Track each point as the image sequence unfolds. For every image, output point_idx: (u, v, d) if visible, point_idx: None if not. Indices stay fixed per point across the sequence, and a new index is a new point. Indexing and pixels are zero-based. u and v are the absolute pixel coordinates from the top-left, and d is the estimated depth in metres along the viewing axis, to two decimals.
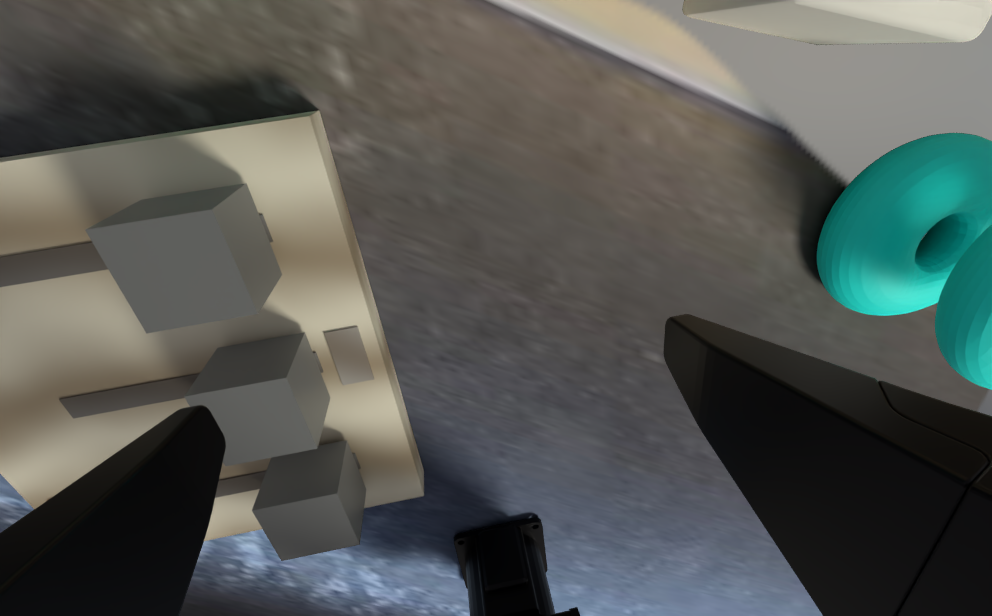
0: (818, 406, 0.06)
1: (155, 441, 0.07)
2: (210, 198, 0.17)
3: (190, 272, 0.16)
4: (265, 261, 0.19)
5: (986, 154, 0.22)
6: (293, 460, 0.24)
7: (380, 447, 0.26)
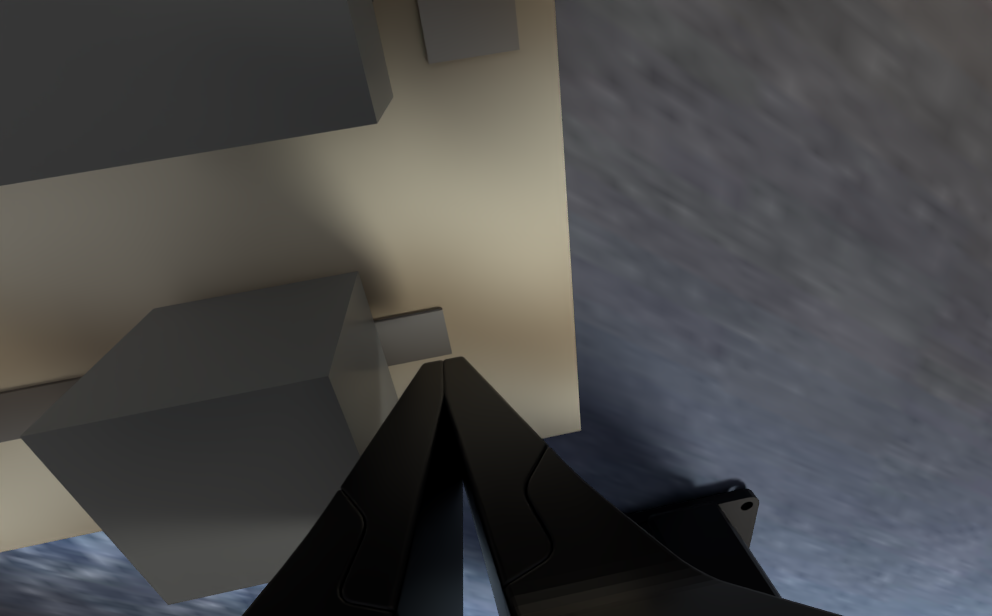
0: (470, 477, 0.06)
1: (432, 388, 0.08)
2: None
3: None
4: None
5: None
6: (205, 315, 0.08)
7: (504, 296, 0.11)
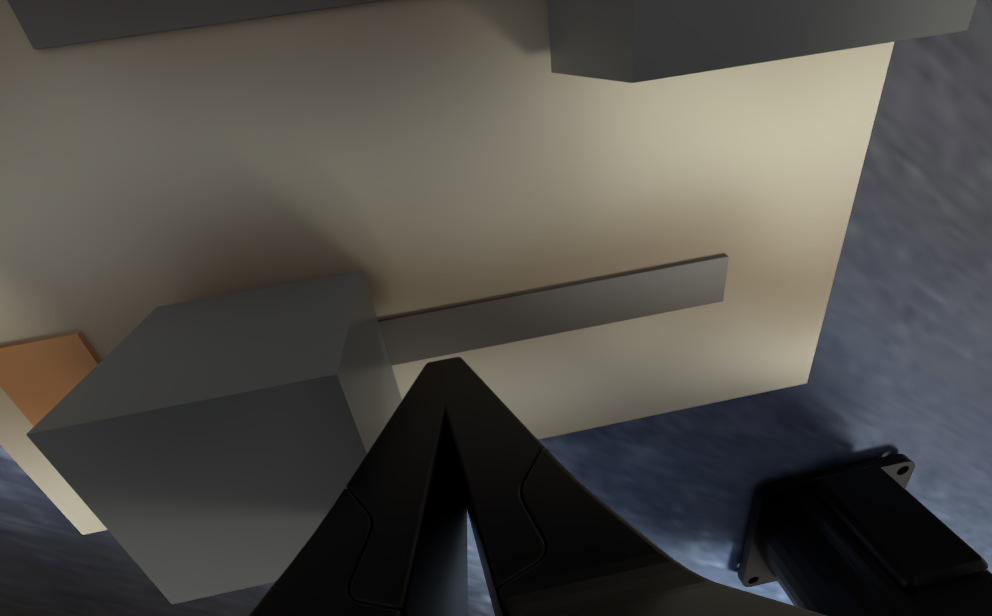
0: (466, 478, 0.06)
1: (436, 387, 0.08)
2: None
3: None
4: None
5: None
6: (210, 313, 0.08)
7: (783, 243, 0.11)
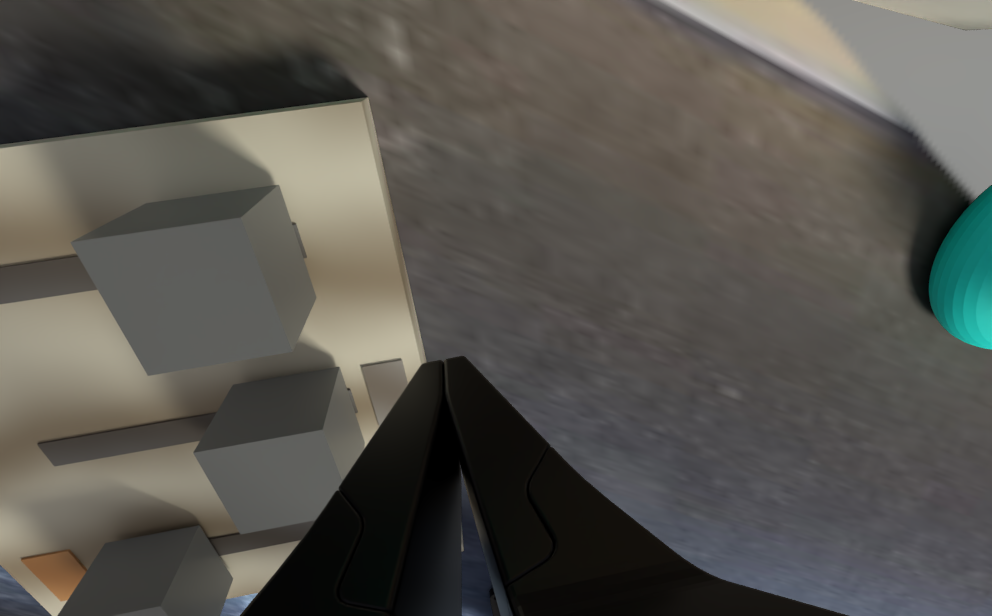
0: (472, 477, 0.06)
1: (431, 389, 0.08)
2: (235, 203, 0.13)
3: (207, 299, 0.12)
4: (299, 282, 0.15)
5: None
6: (126, 553, 0.20)
7: None
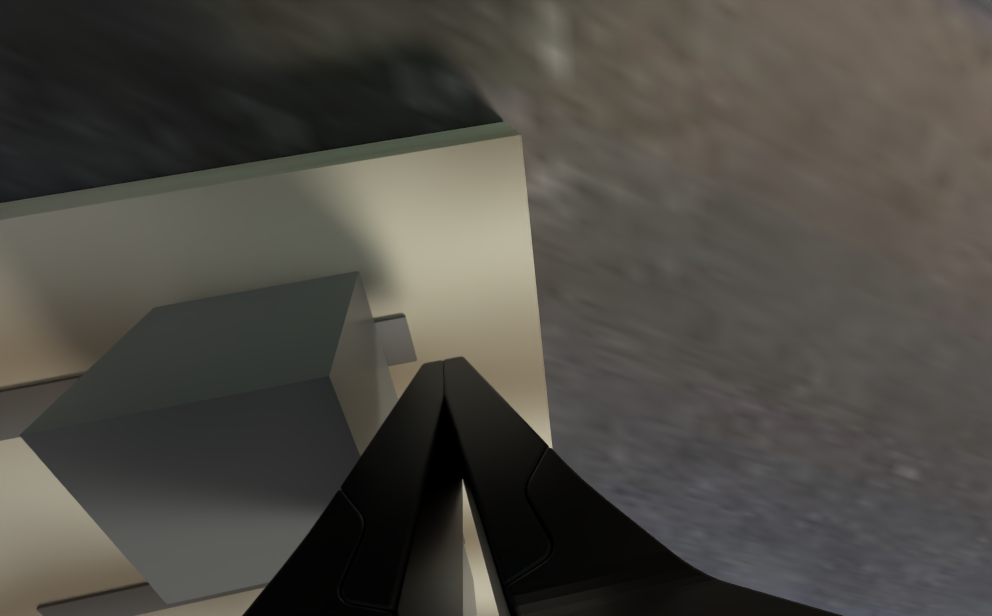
0: (470, 477, 0.06)
1: (432, 388, 0.08)
2: (304, 322, 0.08)
3: (266, 498, 0.07)
4: None
5: None
6: None
7: None
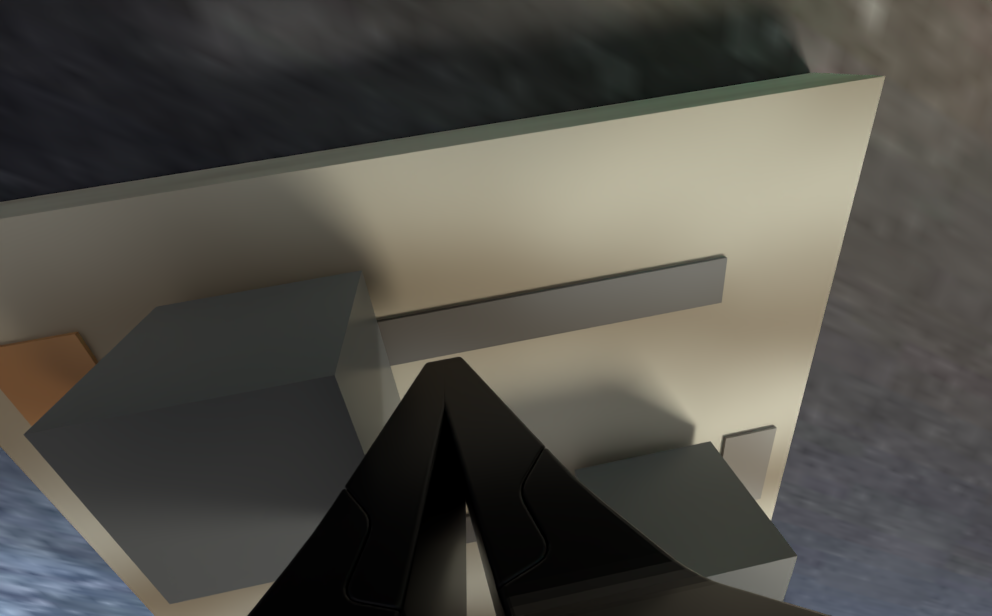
0: (467, 478, 0.06)
1: (435, 388, 0.08)
2: (308, 321, 0.08)
3: (270, 497, 0.07)
4: None
5: None
6: None
7: None
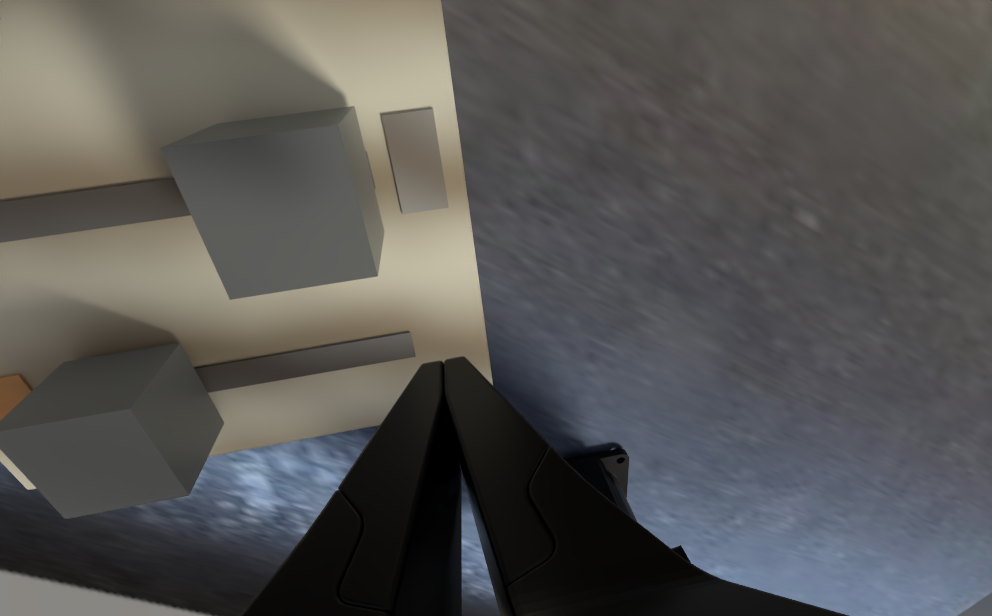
0: (472, 477, 0.06)
1: (430, 389, 0.08)
2: None
3: None
4: None
5: None
6: (89, 368, 0.16)
7: (445, 325, 0.19)
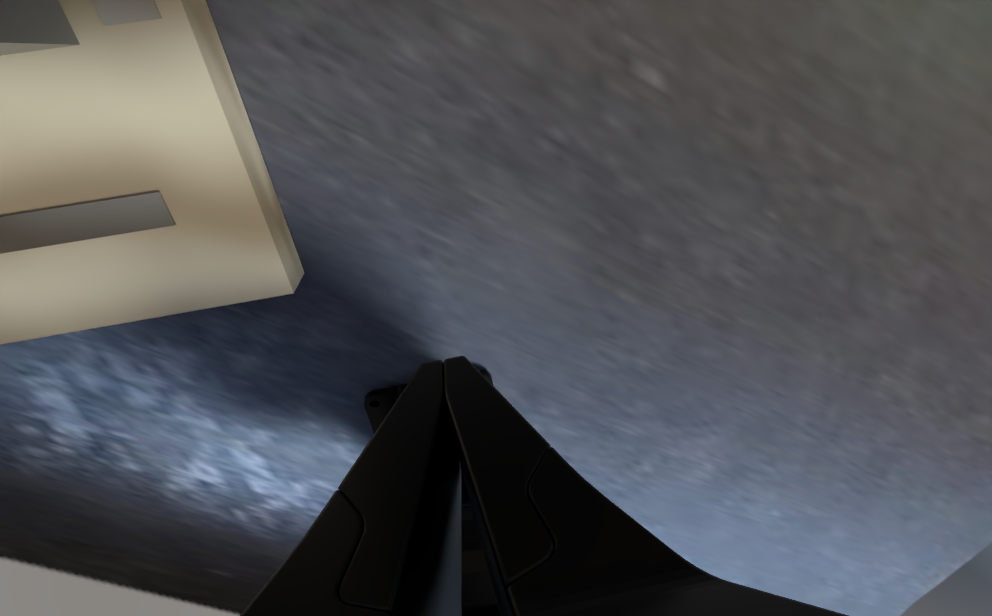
0: (472, 477, 0.06)
1: (430, 389, 0.08)
2: None
3: None
4: None
5: None
6: None
7: (202, 184, 0.16)
